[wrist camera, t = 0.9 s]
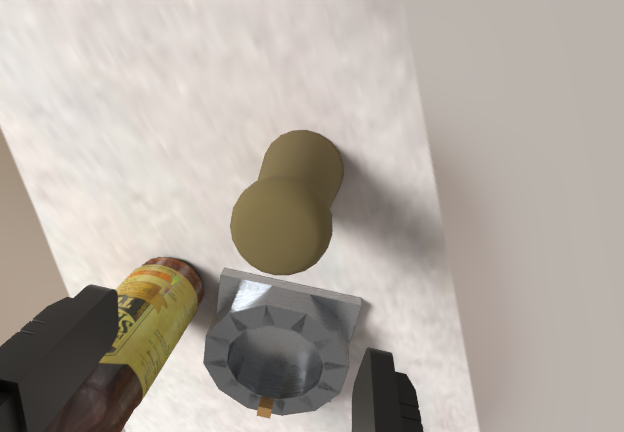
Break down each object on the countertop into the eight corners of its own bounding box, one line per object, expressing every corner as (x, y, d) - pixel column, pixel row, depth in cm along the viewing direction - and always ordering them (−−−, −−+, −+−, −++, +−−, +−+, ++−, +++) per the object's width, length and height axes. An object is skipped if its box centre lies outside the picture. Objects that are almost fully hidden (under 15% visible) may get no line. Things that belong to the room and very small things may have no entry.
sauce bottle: (183, 243, 31) (-49, 516, 13) (219, 300, 33) (63, 602, 15) (121, 265, 32) (-161, 536, 15) (159, 319, 35) (-46, 612, 17)
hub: (224, 267, 32) (206, 298, 28) (361, 298, 32) (362, 333, 28) (213, 367, 37) (196, 405, 33) (330, 393, 37) (328, 434, 33)
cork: (358, 186, 27) (362, 265, 17) (289, 220, 29) (258, 311, 19) (317, 113, 25) (296, 156, 16) (246, 155, 27) (187, 218, 17)
